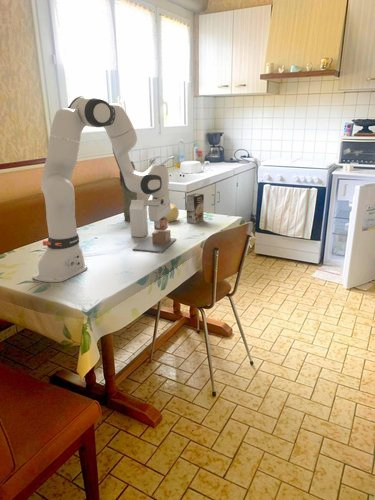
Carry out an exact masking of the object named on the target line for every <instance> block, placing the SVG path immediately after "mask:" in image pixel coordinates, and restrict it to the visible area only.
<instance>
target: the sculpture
mask: <svg viewBox="0 0 375 500" xmlns="http://www.w3.org/2000/svg"><path fill="white" fill-rule="evenodd" d="M170 206H171V211H170V213H168V214H167V215H166V218H167V223H171V222H174V221H176V220H177V219H179V215H180V214H179V213H180V212H179V209H178V207H177V206H176V204H174V203H170Z"/></svg>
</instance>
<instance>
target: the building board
mask: <svg viewBox="0 0 375 500" xmlns="http://www.w3.org/2000/svg"><path fill="white" fill-rule="evenodd" d="M176 241H177V238H173V237H171V230H169V229H166V230H164V231H162V230H154V231H153V232H152V233H151V236H149V235H148V236H147V237H146V238H144V239H143V240H141V242H139V243H137V245H135V246H134V247H132V249H131V250H132V251H137V252H147V253H148V252H149V253H157V254H163V253H164V252H165V251H166V250H167V249H168V248H170V246H171V245H172V244H174V242H176Z"/></svg>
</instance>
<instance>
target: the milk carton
mask: <svg viewBox="0 0 375 500" xmlns="http://www.w3.org/2000/svg"><path fill="white" fill-rule="evenodd" d="M147 206H148V205H146V202H145V199H137V200H131V205H130V209H129V210H130V221H129V223H130V234H131V236H130V237H132V238H133V237H135V238H136V237H137V238H144V237H146V236H147V235H148V234H149V228H148V227H149V226H148V225H149V224H148V207H147Z"/></svg>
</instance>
